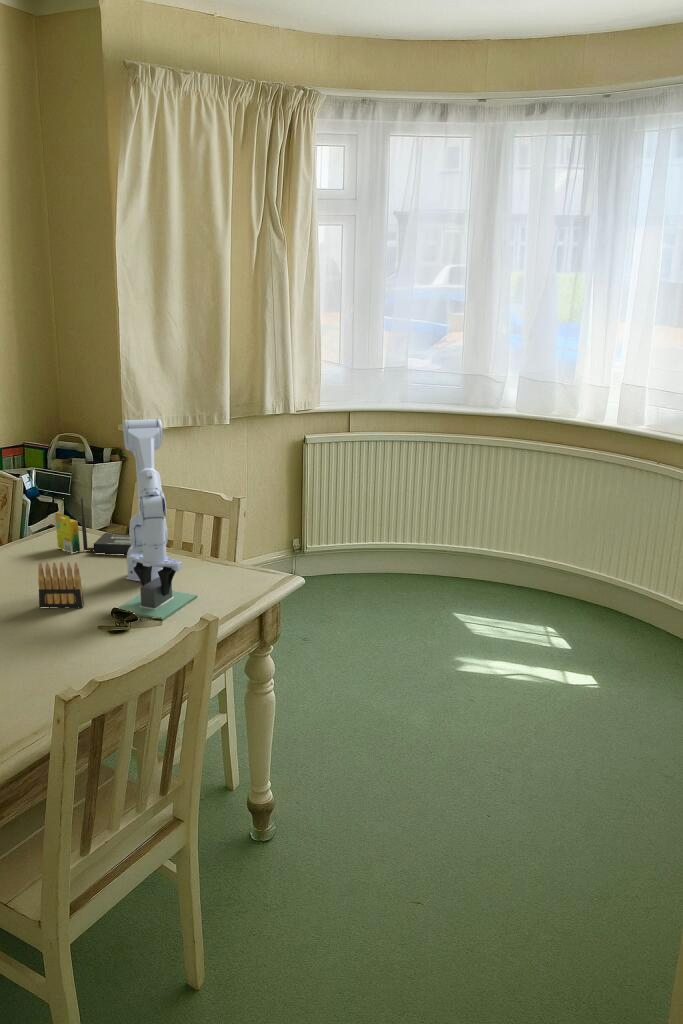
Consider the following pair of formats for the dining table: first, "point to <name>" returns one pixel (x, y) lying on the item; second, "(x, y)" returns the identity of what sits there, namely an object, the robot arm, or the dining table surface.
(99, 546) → the wifi router
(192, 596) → the header board
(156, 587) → the block
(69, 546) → the crayon box
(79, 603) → the ammunition clip
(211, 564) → the dining table surface
